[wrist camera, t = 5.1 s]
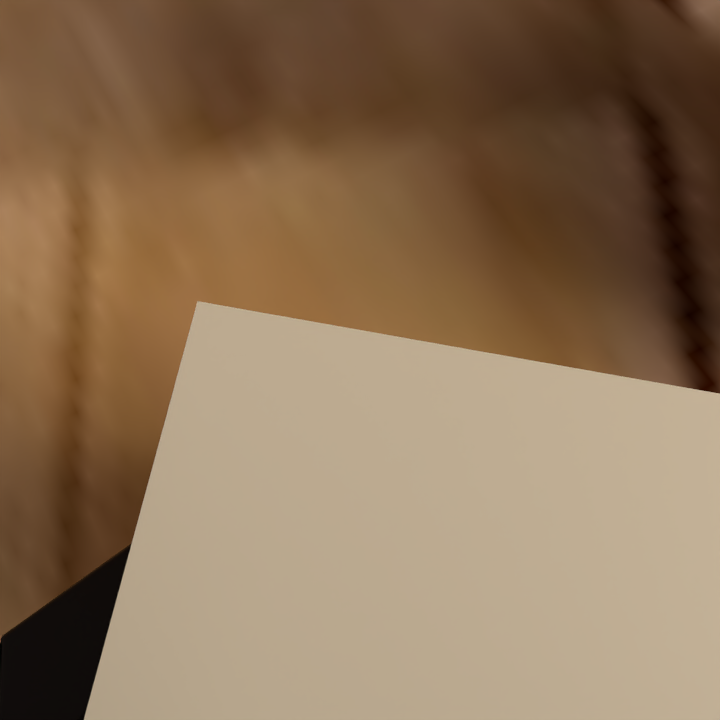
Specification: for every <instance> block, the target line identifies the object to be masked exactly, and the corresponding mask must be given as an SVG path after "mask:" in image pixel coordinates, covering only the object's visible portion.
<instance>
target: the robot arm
mask: <svg viewBox="0 0 720 720" xmlns="http://www.w3.org/2000/svg"><path fill="white" fill-rule="evenodd" d="M130 548H131V544H130V545H129V546H127V547H126V548H125V549H123V550H122V551H120V552H119V553H118V554H116V555H115V556H113V557H112V558H111V559H109V560H108V561H106V562H105V563H104V564H102V565H101V566H99V567H98V568H97V569H95V570H94V571H92V572H91V573H90V574H88V575H87V576H85V577H84V578H83V579H81V580H80V581H78V582H77V583H76V584H74V585H73V586H71V587H70V588H69V589H67V590H66V591H64V592H63V593H62V594H60V595H59V596H57V597H56V598H55V599H53V600H52V601H50V602H49V603H48V604H46V605H45V606H43V607H42V608H41V609H39V610H38V611H36V612H35V613H34V614H32V615H31V616H29V617H28V618H27V619H25V620H24V621H22V622H21V623H20V624H18V625H17V626H15V627H14V628H13V629H11V630H10V631H8V632H7V633H6V634H4V635H3V636H2V638H1V644H0V720H84V717H85V713H86V710H87V706H88V702H89V699H90V695H91V691H92V688H93V684H94V680H95V677H96V673H97V669H98V666H99V662H100V658H101V655H102V651H103V647H104V644H105V640H106V636H107V633H108V629H109V625H110V622H111V618H112V614H113V610H114V607H115V603H116V599H117V596H118V592H119V588H120V585H121V581H122V577H123V574H124V570H125V566H126V563H127V559H128V555H129V552H130Z"/></svg>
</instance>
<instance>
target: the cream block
mask: <svg viewBox="0 0 720 720" xmlns="http://www.w3.org/2000/svg"><path fill="white" fill-rule="evenodd" d="M84 720H720V394H718V393H712V392H707V391H701V390H695V389H690V388H684V387H678V386H673V385H667V384H662V383H656V382H650V381H645V380H639V379H633V378H628V377H622V376H616V375H611V374H605V373H599V372H594V371H588V370H583V369H577V368H571V367H566V366H560V365H554V364H549V363H543V362H537V361H532V360H526V359H520V358H515V357H509V356H503V355H498V354H492V353H487V352H481V351H475V350H470V349H464V348H458V347H453V346H447V345H441V344H436V343H430V342H424V341H419V340H413V339H408V338H402V337H396V336H391V335H385V334H379V333H374V332H368V331H362V330H357V329H351V328H345V327H340V326H334V325H328V324H323V323H317V322H312V321H306V320H300V319H295V318H289V317H283V316H278V315H272V314H266V313H261V312H255V311H249V310H244V309H238V308H233V307H227V306H221V305H216V304H210V303H204V302H199V301H198V302H197V305H196V309H195V313H194V316H193V320H192V324H191V327H190V331H189V335H188V338H187V342H186V346H185V349H184V353H183V357H182V360H181V364H180V368H179V371H178V375H177V379H176V382H175V386H174V390H173V394H172V397H171V401H170V405H169V408H168V412H167V416H166V419H165V423H164V427H163V430H162V434H161V438H160V441H159V445H158V449H157V452H156V456H155V460H154V463H153V467H152V471H151V474H150V478H149V482H148V485H147V489H146V493H145V496H144V500H143V504H142V508H141V511H140V515H139V519H138V522H137V526H136V530H135V533H134V537H133V541H132V544H131V548H130V552H129V555H128V559H127V563H126V566H125V570H124V574H123V577H122V581H121V585H120V588H119V592H118V596H117V599H116V603H115V607H114V610H113V614H112V618H111V622H110V625H109V629H108V633H107V636H106V640H105V644H104V647H103V651H102V655H101V658H100V662H99V666H98V669H97V673H96V677H95V680H94V684H93V688H92V691H91V695H90V699H89V702H88V706H87V710H86V713H85V717H84Z"/></svg>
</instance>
